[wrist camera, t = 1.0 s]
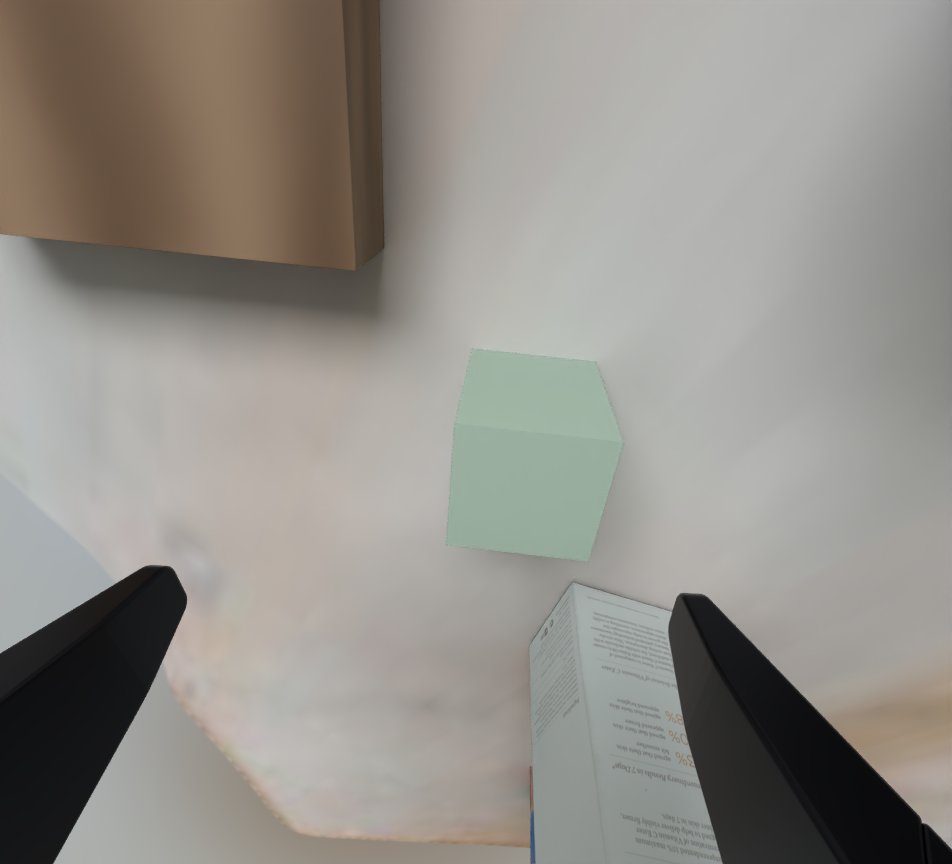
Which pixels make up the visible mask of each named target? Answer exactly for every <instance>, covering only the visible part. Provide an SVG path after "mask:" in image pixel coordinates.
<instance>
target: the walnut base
mask: <svg viewBox="0 0 952 864" xmlns="http://www.w3.org/2000/svg"><path fill="white" fill-rule="evenodd" d="M0 234H5V235H15V236H24V237H34V238H44V239H53V240H63V241H73V242H82V243H92V244H102V245H112V246H121V247H131V248H141V249H150V250H160V251H170V252H179V253H189V254H199V255H208V256H218V257H228V258H237V259H247V260H257V261H266V262H276V263H286V264H295V265H305V266H315V267H324V268H334V269H344V270H353V271H356V270H357V269H359V268H360V267H361V266H362V265H364V264H365V263H366V262H367V261H369V260H370V259H371V258H372V257H374V256H375V255H376V254H377V253H379V252H380V251H381V250H382V249H384V214H383V163H382V112H381V60H380V9H379V0H0Z"/></svg>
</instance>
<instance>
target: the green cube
mask: <svg viewBox="0 0 952 864" xmlns="http://www.w3.org/2000/svg"><path fill="white" fill-rule="evenodd" d="M623 443H624V441H623V438H622V435H621V432H620V429H619V427H618V424H617V421H616V418H615V415H614V412H613V409H612V406H611V404H610V401H609V398H608V395H607V392H606V389H605V386H604V383H603V380H602V378H601V375H600V372H599V369H598V366H597V363H596V362H594V361H584V360H575V359H566V358H557V357H547V356H538V355H529V354H520V353H510V352H501V351H492V350H483V349H473V348H472V350H471V354H470V359H469V363H468V367H467V371H466V376H465V380H464V384H463V389H462V393H461V397H460V402H459V406H458V410H457V415H456V419H455V424H454V439H453V453H452V467H451V482H450V496H449V511H448V525H447V540H446V545H451V546H459V547H468V548H476V549H485V550H493V551H502V552H510V553H518V554H527V555H535V556H544V557H552V558H561V559H569V560H578V561H586V562H588V561H589V558H590V555H591V551H592V548H593V545H594V541H595V538H596V534H597V531H598V528H599V524H600V521H601V518H602V514H603V511H604V507H605V504H606V501H607V497H608V494H609V491H610V487H611V484H612V480H613V477H614V474H615V470H616V467H617V464H618V460H619V457H620V453H621V450H622V447H623Z"/></svg>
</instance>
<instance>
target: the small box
mask: <svg viewBox="0 0 952 864" xmlns="http://www.w3.org/2000/svg"><path fill="white" fill-rule="evenodd" d="M671 614H672V612H671V611H667V610H664V609H661V608H657V607H654V606H651V605H647V604H644V603H641V602H637V601H634V600H631V599H627V598H624V597H620V596H617V595H613V594H610V593H607V592H604V591H600V590H597V589H593V588H590V587H587V586H583V585H580V584H577V583H572V584H571V585H570V586H569V588H568V589H567V591H566V592H565V594H564V595H563V597H562V598H561V599H560V601H559V602H558V604H557V605H556V607H555V608H554V610H553V611H552V613H551V614H550V616H549V617H548V619H547V620H546V622H545V623H544V625H543V626H542V628H541V629H540V631H539V632H538V634H537V635H536V637H535V638H534V640H533V641H532V643H531V644H530V646H529V665H530V705H531V740H532V767H533V802H534V835H535V860H536V864H723V863H722V860H721V856H720V853H719V849H718V846H717V842H716V839H715V835H714V832H713V828H712V825H711V821H710V818H709V814H708V810H707V807H706V803H705V800H704V796H703V793H702V789H701V786H700V782H699V779H698V775H697V772H696V768H695V765H694V761H693V758H692V754H691V751H690V747H689V743H688V739H687V736H686V732H685V727H684V722H683V716H682V711H681V705H680V699H679V694H678V688H677V682H676V677H675V671H674V665H673V660H672V654H671V648H670V642H669V636H668V625H669V621H670V618H671Z"/></svg>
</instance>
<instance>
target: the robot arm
mask: <svg viewBox="0 0 952 864" xmlns="http://www.w3.org/2000/svg"><path fill="white" fill-rule="evenodd" d="M186 605H187V595H186V593H185V591H184V589H183V587H182V585H181V583H180V581H179V579H178V577H177V575H176V573H175V571H174V569H173V568H171V567H169V566H160V565H149V566H145V567H143V568H141V569H139V570H138V571H136V572H134V573H133V574H131V575H129V576H128V577H126V578H124V579H123V580H121V581H119V582H118V583H116V584H114V585H113V586H111V587H109V588H108V589H106V590H105V591H103V592H101V593H100V594H98V595H96V596H95V597H93V598H91V599H90V600H88V601H86V602H85V603H83V604H81V605H80V606H78V607H76V608H75V609H73V610H71V611H70V612H68V613H66V614H65V615H63V616H62V617H60V618H58V619H57V620H55V621H53V622H52V623H50V624H48V625H47V626H45V627H43V628H42V629H40V630H38V631H37V632H35V633H34V634H32V635H30V636H28V637H27V638H25V639H23V640H22V641H20V642H19V643H17V644H15V645H13V646H12V647H10V648H8V649H7V650H5V651H4V652H2V653H0V864H53V863H54V861H55V860H56V858H57V856H58V854H59V852H60V850H61V849H62V847H63V845H64V843H65V842H66V840H67V838H68V836H69V834H70V833H71V831H72V829H73V827H74V825H75V824H76V822H77V820H78V818H79V816H80V815H81V813H82V811H83V809H84V807H85V806H86V804H87V802H88V800H89V798H90V797H91V795H92V793H93V791H94V789H95V788H96V786H97V784H98V782H99V780H100V778H101V776H102V775H103V773H104V771H105V770H106V767H107V766H108V764H109V762H110V761H111V759H112V757H113V755H114V753H115V752H116V750H117V748H118V746H119V744H120V743H121V741H122V739H123V737H124V735H125V734H126V732H127V730H128V728H129V726H130V725H131V723H132V721H133V719H134V717H135V716H136V714H137V712H138V710H139V708H140V706H141V705H142V703H143V701H144V699H145V697H146V695H147V693H148V691H149V689H150V687H151V685H152V683H153V681H154V679H155V677H156V674H157V672H158V670H159V668H160V665H161V663H162V661H163V659H164V656H165V654H166V652H167V650H168V647H169V645H170V643H171V641H172V638H173V636H174V634H175V632H176V629H177V627H178V625H179V622H180V620H181V618H182V616H183V613H184V611H185V609H186ZM668 636H669V642H670V648H671V654H672V660H673V665H674V671H675V677H676V682H677V688H678V694H679V699H680V705H681V711H682V716H683V722H684V727H685V732H686V736H687V739H688V743H689V747H690V751H691V754H692V758H693V761H694V765H695V768H696V772H697V775H698V779H699V782H700V786H701V789H702V793H703V796H704V800H705V803H706V807H707V810H708V814H709V818H710V821H711V825H712V828H713V832H714V835H715V839H716V842H717V846H718V849H719V853H720V856H721V860H722V863H723V864H952V849H951V848H950V847H949V846H948V845H947V844H946V843H945V842H944V841H943V840H942V839H941V838H940V837H939V836H938V835H937V834H936V832H935V831H934V830H933V829H932V828H931V827H930V826H929V825H927V824H925V823H922V821H921V818H920V816H919V815H918V814H917V813H916V812H915V811H914V810H913V809H912V808H911V807H910V806H909V805H908V804H907V803H906V802H905V801H904V800H903V799H902V798H901V797H900V796H899V795H898V793H897V792H896V791H895V790H894V789H893V788H892V787H891V786H890V785H889V784H888V783H887V782H886V781H885V780H884V779H883V778H882V777H881V776H880V775H879V774H878V773H877V772H876V771H875V770H874V769H873V768H872V767H871V766H870V765H869V763H868V762H867V761H866V760H865V759H864V758H863V757H862V756H861V755H860V754H859V753H858V752H857V751H856V750H855V749H854V748H853V747H852V746H851V745H850V744H849V743H848V742H847V741H846V740H845V739H844V738H843V737H842V736H841V735H840V733H839V732H838V731H837V730H836V729H835V728H834V727H833V726H832V725H831V724H830V723H829V722H828V721H827V720H826V719H825V718H824V717H823V716H822V715H821V714H820V713H819V712H818V711H817V710H816V709H815V708H814V707H813V706H812V704H811V703H810V702H809V701H808V700H807V699H806V698H805V697H804V696H803V695H802V694H801V693H800V692H799V691H798V690H797V689H796V688H795V687H794V686H793V685H792V684H791V683H790V682H789V681H788V680H787V679H786V678H785V677H784V676H783V674H782V673H781V672H780V671H779V670H778V669H777V668H776V667H775V666H774V665H773V664H772V663H771V662H770V661H769V660H768V659H767V658H766V657H765V656H764V655H763V654H762V653H761V652H760V651H759V650H758V649H757V648H756V647H755V646H754V644H753V643H752V642H751V641H750V640H749V639H748V638H747V637H746V636H745V635H744V634H743V633H742V632H741V631H740V630H739V629H738V628H737V627H736V626H735V625H734V624H733V623H732V622H731V621H730V620H729V619H728V618H727V617H726V616H725V614H724V613H723V612H722V611H721V610H720V609H719V608H718V607H717V606H716V605H715V604H714V603H713V602H712V601H711V600H710V599H709V598H708V597H706V596H705V595H703V594H692V593H681V594H679V595H678V596H677V598H676V601H675V605H674V608H673V611H672V614H671V618H670V621H669V625H668Z"/></svg>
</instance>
